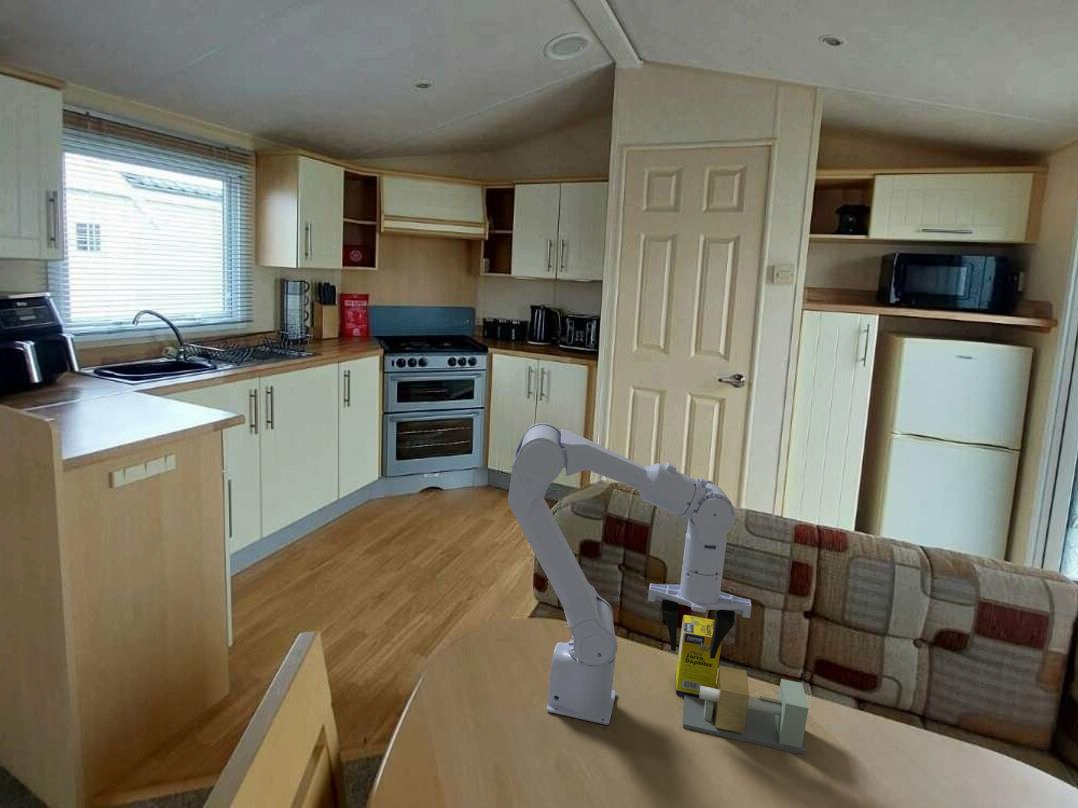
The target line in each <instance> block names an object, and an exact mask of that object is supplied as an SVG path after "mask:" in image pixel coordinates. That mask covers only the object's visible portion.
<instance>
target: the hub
mask: <svg viewBox="0 0 1078 808" xmlns="http://www.w3.org/2000/svg"><path fill="white" fill-rule="evenodd" d="M749 688H750V687H749V681H748V673H747V670H744V669H739V668H733V667H730V666H724V665H720V664H718V671H717V678H716V685H715V689H719V694H718V701H717V702H714V711H715V728H720V729H724V730H729V731H733V732H738V733H744V727H745V720H746V714H747V708H748V701H749V696H750V691H749Z"/></svg>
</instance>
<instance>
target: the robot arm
mask: <svg viewBox="0 0 1078 808" xmlns="http://www.w3.org/2000/svg"><path fill="white" fill-rule="evenodd" d="M515 450H516V451H515V455H514V459H513V462H512V465H511V474H510V479H509V480H510V482H509V488H508V496H507V503H508V505H509V507H510V510H511V512H512V513H513V516H514V517H515V519H516V521H517V523H518V525H519V527H520V529H521V531H522V532H523V534H524V536H525V538H526V540H527V541H528V543H529V545H530V548H531V549H532V551H533V553H534V554H535V556H536V558H537V560H538V563H539V564H540V566H541V568H542V570H543V571H544V573H545V576H546V577H547V579H548V581H549V583H550V585H551V587H552V589H553V591H554V592H555V594H556V596H557V598H558V600H559V601H560V603H561V606H562V608H563V611H564V615H565V620H566V623H567V625H568V629H569V631H570V633H571V635H572V637H571V638H570V639H569V641H568V642H560V641H559V642H557V643H556V645H555V647H554V650H553V654H552V657H551V658H552V659H551V665H550V672H549V673H550V674H549V675H550V676H549V682H548V683H549V685H548V694H547V695H548V697H547V706H546V711H547V712H549V713H554V714H558V715H562V716H567V717H571V718H575V719H578V720H579V719H580V720H584V721H588V722H593V723H598V724H602V725H605V726H606V725H607V726H608V725H610V722H611V718H612V714H613V709H614V702H615V699H616V690H614V689H613V684H614V673H615V665H616V655H617V652H618V645H619V644H618V640H617V637H616V633H615V626H614V611H613V608H612V606H611V604H610V603H609V602H608V601H607V600H606V599H604V598H602V597H601V596H600V595H599V594H598V592H597V590H596V588H595V586H594V585H592V584H590V583H589V581H588V579H587V577H586V576H585V573H584V572H583V570H582V568H581V566H580V564H579V562H578V561H577V559H576V557H575V554H574V552H573V551H572V549H571V547H570V545H569V543H568V541H567V539H566V537H565V535H564V534H563V532H562V530H561V528H560V526H559V524H558V522H557V520H556V518H555V516H554V514H553V512H552V510H551V508H550V507H549V504H548V503H547V501H546V499H545V495H546V494H547V490H548V488H549V486H550V485H551V484H553V482H554V481H555V480H556V479H557V478H558V477H559V475H560V474H561V473H562V471H563V469H565V476H566V477H569V476H573V475H575V474H579V473H580V472H583V471H588V472H592V473H594V474H597V475H598V476H599V475H600V476H603V477H605V478H608V479H611V480H613V481H616V482H618V483H621V484H624V485H626V486H628V487H631V488H633V489H636V490H637V491H638V493H639V494H638V495H639V496H640V499H641V500H642V501H643V502H646V503H648V504H649V505H652V506H655V507H658V508H659V509H662V510H664V511H666V512H669V513H671V514H674V515H676V516H678V517H680V518H684V519H688V520H687V521H688V522H687V528H686V529H687V530H686V533H685V541H684V548H683V549H684V550H683V559H682V566H681V575H680V584H656V583H649V589H648V597H647V602H652V603H655V602H656V601H659V602H662V603H661V609H660V610H661V614H662V617H663V619H664V621H665V625H666V627H667V631H668V635H669V640H670V651H671V652H677V651H676V650H677V638H678V633H677V632H678V630H677V629H678V620H679V612H680V611H679V610H680V605H682V606H687V607H689V608H691V610H692V611H694V612H699V613H706V612H707V611H711V610H713V611H715V613H714V620H715V621H714V630H713V635H712V639H711V645H710V658H713V659H715V656H716V653H717V650H718V648H719V646H720V644H721V642H722V643H723V640H724V639H725V638H726V636H727V634H728V633H729V632H730V631H731V630H732V629H733V627H734V625H735V622H736V621H735V620H736V619H735V615H741V617H743V618H745V619H746V618H747V619H750V618H751V613H752V601H751V599H749V598H743V597H740V596H736V595H733V594H731V593H726V592H723V591H722V590H721V589H722V582H723V575H724V574H723V573H724V565H725V558H726V557H725V556H726V548H727V536H728V535H727V534H728V531H729V530H730V529H731V528H732V527H733V526H734V524H735V522H736V518H737V515H736V514H735V508H734V505H733V502H732V501H731V500H730V498H728V496H727V494H726V493H725V491H724V490H723V489H722V488H721V487H720V486H719V485H717V484H716V483H714V482H713V481H712V480H706V479H704V478H701V477H699V478H698V479H695V478H693V477H691V476H688V475H686V474H684V473H682V472H680V471H677V467H676V465H675V464H672V463H670V462H666V464H665V465H664V464H661V463H658V462H657V463H654V464H651V465H647V466H644V465H642V464H639V463H637V462H635V461H634V460H632V459H629V458H627V457H625V456H623V455H621V454H619V453H617V452H614V451H613V450H611V449H608V448H606V447H605V446H602V445H600V444H598V443H597V442H594V441H592V440H589V439H588V438H586V437H583V436H581V435H579V434H577V433H575V432H573V431H571V430H569V429H565V428H561V429H559V428H558V427H556V426H555V425H553V424H550V423H547V422H539V423H536V424H535V423H534V424H533V425H531V426H529V428H527V429H526V430H525V431H524V433H523V435H522V437H521V439H520V440H519V442H518V445H517V447H516V449H515Z"/></svg>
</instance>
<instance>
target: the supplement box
mask: <svg viewBox="0 0 1078 808" xmlns="http://www.w3.org/2000/svg"><path fill="white" fill-rule="evenodd" d="M714 621H715V619H711V618H706V617H705V618H704V617H699V616H693V615H687V614H684V615H683V617H682V623H681V632H680V638H679V646H678V653H677V662H676V668H675V669H676V670H675V694H676V695H679V696H683V697H684V695H687V696H691V697H696V698H699V695H700V686H705V687H710V688H714V689H716V685H717V678H718V671H719V665H720V664H719V662H720V656H721V652H722V651H721V649H722V645H723V641H722V642H721V644H720V646H719V648H718V650H717V653H716V656H715V659H713V658H710V645H711V639H712V635H713V630H714Z"/></svg>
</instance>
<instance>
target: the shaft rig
mask: <svg viewBox="0 0 1078 808" xmlns="http://www.w3.org/2000/svg"><path fill="white" fill-rule="evenodd" d="M718 694H719V689H716V688H715V689H714V688H710V687H705V686H700V695H699V698H696V697H691V696H687V695H684V696H683V711H682V712H683V715H682V719H683V720H682V728H683V729H687V730H693V731H696V732H701V733H706V734H709V735H715V736H720V737H723V738H729V739H732V740H737V741H742V742H744V743H745V742H746V743H749V742H750V744H754V743H755V744H754V745H758V744H759V746H762V747H768V748H771V749H777V750H781V751H786V752H791V753H795V754H800V755H803V756H805V755H806V752H807V751H806V747H805V742H804V736H805V730H806V726H807V725H806V724H807V720H808V713H809V705H808V701H807V697H806V694H805V689H804V685H803V682H799V681H793V680H789V679H784V678H781V679H780V683H779V689H778V694H777V699H776V698H773V697H766V696H761V695H760V696H759V697H757V696H752V695H749V701H748V708H747V714H746V720H745V727H744V733H738V732H733V731H729V730H724V729H720V728H715V711H714V702H717V701H718Z"/></svg>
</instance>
